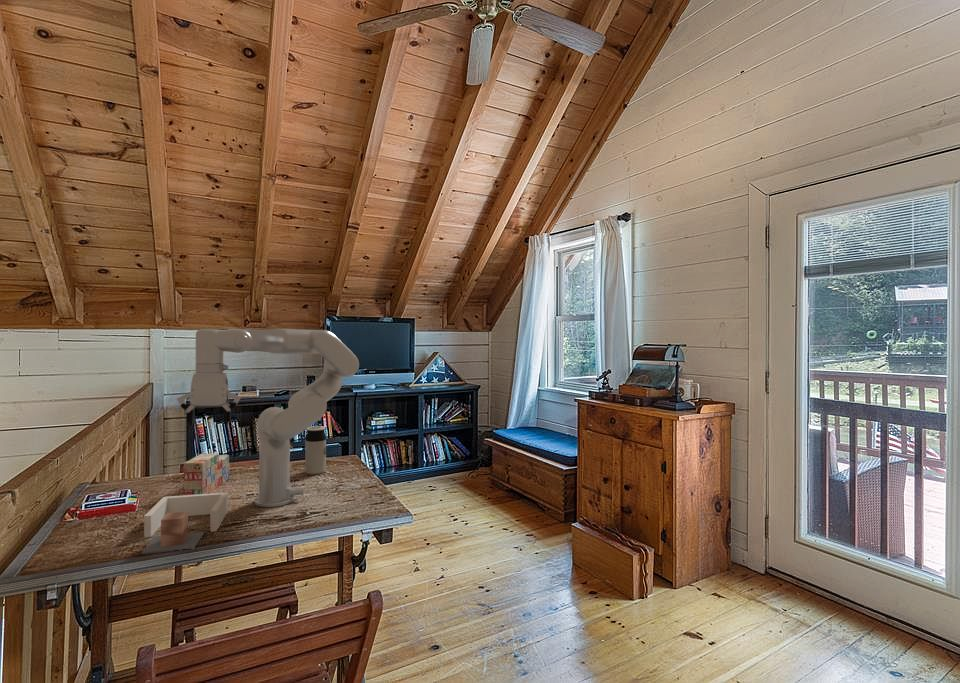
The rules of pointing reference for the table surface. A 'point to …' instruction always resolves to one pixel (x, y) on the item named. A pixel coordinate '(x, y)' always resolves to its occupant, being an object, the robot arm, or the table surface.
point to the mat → (188, 544)
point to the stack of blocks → (205, 473)
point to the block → (174, 528)
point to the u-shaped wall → (188, 509)
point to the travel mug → (315, 450)
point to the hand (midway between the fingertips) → (209, 424)
